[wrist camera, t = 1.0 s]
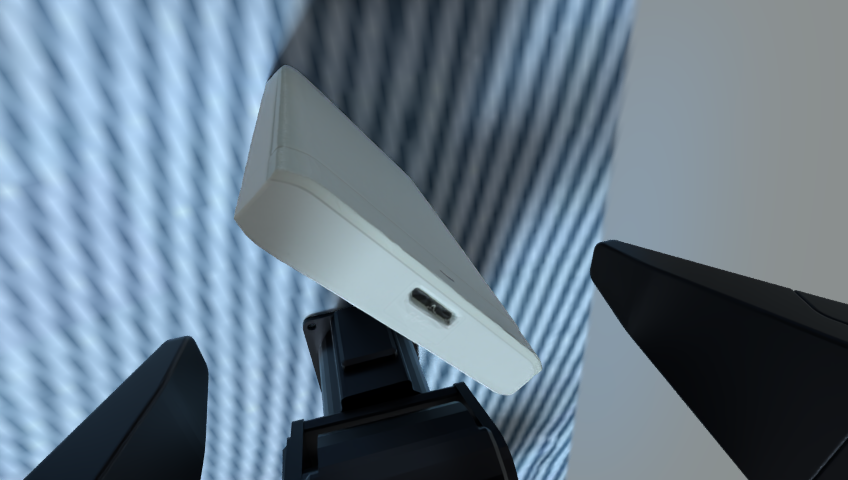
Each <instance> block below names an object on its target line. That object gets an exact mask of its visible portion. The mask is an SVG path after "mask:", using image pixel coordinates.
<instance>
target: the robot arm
mask: <svg viewBox="0 0 848 480" xmlns="http://www.w3.org/2000/svg"><path fill="white" fill-rule="evenodd" d="M590 276H591V279H592V281H593V282H594V284H595V285H596V287H597V288H598V290H599V291H600V293H601V294H602V296H603V297H604V299H605V300H606V302H607V303H608V305H609V306H610V308H611V309H612V311H613V312H614V314H615V315H616V317H617V318H618V320H619V321H620V323H621V324H622V325H623V327H624V328H625V330H626V331H627V332H628V334H629V335H630V336H631V338H632V339H633V340H634V341H635V343H636V344H637V345H638V346H639V347H640V349H641V350H642V351H643V352H644V353H645V355H646V356H647V357H648V358H649V360H650V361H651V362H652V363H653V364H654V366H655V367H656V368H657V369H658V370H659V372H660V373H661V374H662V375H663V377H664V378H665V379H666V380H667V381H668V383H669V384H670V385H671V386H672V387H673V389H674V390H675V391H676V392H677V394H678V395H679V396H680V397H681V398H682V400H683V401H684V402H685V403H686V405H687V406H688V407H689V408H690V409H691V411H692V412H693V413H694V414H695V415H696V417H697V418H698V419H699V420H700V422H701V423H702V424H703V425H704V426H705V428H706V429H707V430H708V431H709V432H710V434H711V435H712V436H713V438H714V439H715V440H716V441H717V442H718V444H719V445H720V446H721V447H722V448H723V450H724V451H725V452H726V453H727V454H728V455H729V457H730V458H731V459H732V461H733V462H734V463H735V464H736V465H737V467H738V468H739V469H740V470H741V472H742V473H743V474H744V475H745V476H746V478H747V479H748V480H848V304H845V303H841V302H837V301H834V300H830V299H826V298H823V297H819V296H815V295H812V294H808V293H804V292H801V291H797V290H795V291H793V290H792V289H790V288H786V287H782V286H779V285H775V284H772V283H768V282H765V281H761V280H757V279H754V278H750V277H746V276H743V275H739V274H736V273H732V272H728V271H725V270H721V269H718V268H714V267H710V266H707V265H703V264H699V263H696V262H693V261H689V260H685V259H682V258H678V257H675V256H671V255H667V254H663V253H660V252H657V251H653V250H649V249H645V248H642V247H638V246H635V245H631V244H628V243H624V242H621V241H617V240H608V241H604V242H600V243H598V244H597V245H596V246H595V248H594V253H593V258H592V263H591V268H590ZM309 324H315V326H313V327H309V326H308V325H309ZM303 331H304V334H305V338H306V341H307V345H308V348H309V351H310V355H311V358H312V362H313V365H314V368H315V372H316V375H317V379H318V382H319V385H320V389H321V392H322V400H323V412H324V416H323V417H319V418H315V419H311V420H306V421H304V419H302V420H298V421H293V422H292V426H291V437H289V438H287V446H286V447H285V448H284V449H283V472H282V480H518V477H517V472H516V469H515V465H514V462H513V459H512V456H511V454H510V451H509V449H508V446H507V444H506V442H505V440H504V438H503V436H502V434H501V433H500V431H499V430H498V428H497V427H496V425H495V424H494V423H493V421H492V420H491V419H490V417H489V416H488V414H487V413H486V412H485V410H484V409H483V408H482V406H481V405H480V403H479V402H478V401H477V399H476V398H475V397H474V395H473V394H472V393H471V391H470V390H469V388H468V387H467V386H466V384H465V383H464V382H460V383H455V384H453V386H451V387H446V388H442V389H438V390H434V391H430V390H429V387H428V384H427V381H426V379H425V376H424V373H423V371H422V368H421V365H420V362H419V360H418V357H417V345H416V343H415V342H413V341H411V340H410V339H408V338H406V337H405V336H403V335H401V334H400V333H398V332H396V331H395V330H393V329H391V328H390V327H388V326H386V325H385V324H383V323H381V322H380V321H378V320H377V319H375V318H374V317H372V316H370V315H369V314H367V313H365V312H364V311H362V310H360V309H359V308H357V307H355V306H353V307H349V308H344V309H340V310H337V311H334V312H330V313H326V314H321V315H317V316H313V317H309V318H307V319H305V320H304V322H303ZM207 399H208V368H207V365H206V362H205V360H204V358H203V356H202V354H201V352H200V350H199V348H198V346H197V344H196V342H195V340H194V339H193V338H192V337H190V336H183V337H179V338H175V339H170V340H167V341H166V342H164V343H163V344H162V345H161V346H160V347H159V348H158V349H157V350H156V351H155V352H154V353H153V354H152V355H151V356H150V357H149V358H148V359H147V360H146V361H145V362H144V363H143V364H142V365H141V366H140V367H139V368H137V369H136V370H135V371H134V372H133V373H132V374H131V375H130V376H129V377H128V378H127V379H126V380H125V381H124V382H123V383H122V384H121V385H120V386H119V387H118V388H117V389H116V390H115V391H114V392H113V393H112V394H111V395H110V396H109V397H108V398H107V399H106V400H105V401H104V402H103V403H102V404H100V405H99V406H98V407H97V408H96V409H95V410H94V411H93V412H92V413H91V414H90V415H89V416H88V417H87V418H86V419H85V420H84V421H83V422H82V423H81V424H80V425H79V426H78V427H77V428H76V429H75V430H74V431H73V432H72V433H71V434H70V435H69V436H68V437H67V438H66V439H65V440H64V441H62V442H61V443H60V444H59V445H58V446H57V447H56V448H55V449H54V450H53V451H52V452H51V453H50V454H49V455H48V456H47V457H46V458H45V459H44V460H43V461H42V462H41V463H40V464H39V465H38V466H37V467H36V468H35V469H34V470H33V471H32V472H31V473H30V474H29V475H28V476H27V477H25V478H24V479H23V480H200V479H201V473H202V467H203V460H204V453H205V442H206V422H207Z"/></svg>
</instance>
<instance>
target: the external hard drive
mask: <svg viewBox="0 0 848 480" xmlns="http://www.w3.org/2000/svg"><path fill="white" fill-rule="evenodd" d="M234 219H235V221H236V223H237V224H238V225H239V227H240V228H241V229H242V231H243V232H244V233H245V234H246V236H247V237H248V238H250V239H251V240H252V241H253V242H254V243H255V244H256V245H258V246H259V247H260V248H262V249H263V250H265V251H266V252H268V253H269V254H271V255H273V256H274V257H276V258H277V259H279V260H280V261H282V262H284V263H285V264H287V265H289V266H290V267H292V268H294V269H295V270H297V271H299V272H300V273H302V274H303V275H305V276H307V277H308V278H310V279H312V280H313V281H315V282H316V283H318V284H320V285H321V286H323V287H325V288H326V289H328V290H329V291H331V292H333V293H334V294H336V295H338V296H339V297H341V298H342V299H344V300H346V301H347V302H349V303H350V304H352V305H354V306H355V307H357V308H359V309H360V310H362V311H364V312H365V313H367V314H369V315H370V316H372V317H374V318H375V319H377V320H378V321H380V322H381V323H383V324H385V325H386V326H388V327H390V328H391V329H393V330H395V331H396V332H398V333H400V334H401V335H403V336H405V337H406V338H408V339H410V340H411V341H413V342H415V343H416V344H418V345H420V346H421V347H423V348H424V349H426V350H428V351H429V352H431V353H433V354H434V355H436V356H437V357H439V358H441V359H442V360H444V361H445V362H447V363H448V364H450V365H452V366H453V367H455V368H456V369H458V370H459V371H461V372H463V373H464V374H466V375H467V376H469V377H471V378H472V379H474V380H475V381H477V382H479V383H480V384H482V385H483V386H485V387H486V388H488V389H490V390H491V391H493V392H495V393H497V394H501V395H512V394H514V393H515V392H516V391H517V390H518V389H520V388H521V387H522V386H523V385H524V384H525V383H527V382H528V381H529V380H530V379H531V378H532V377H533V376H534V375H536V374H538V373H539V372H540V371H541V370H542V365H541V362H540V359H539V358H538V356H537V355H536V353H535V352H534V351H533V349H532V348H531V346H530V345H529V343H528V342H527V341H526V339H525V338H524V336H523V335H522V334H521V332H520V331H519V328H518V326H517V325H516V323H515V322H514V321H513V319H512V318H511V316H510V315H509V314H508V312H507V311H506V309H505V308H504V307H503V305H502V304H501V302H500V301H499V300H498V298H497V297H496V295H495V294H494V293H493V291H492V290H491V289H490V287H489V286H488V284H487V283H486V282H485V280H484V279H483V278H482V276H481V275H480V273H479V272H478V271H477V269H476V268H475V266H474V265H473V264H472V262H471V261H470V259H469V258H468V256H467V255H466V254H465V252H464V251H463V249H462V248H461V247H460V245H459V244H458V243H457V241H456V240H455V238H454V237H453V236H452V234H451V233H450V232H449V230H448V229H447V228H446V226H445V225H444V223H443V222H442V221H441V219H440V218H439V216H438V215H437V214H436V212H435V211H434V210H433V208H432V207H431V205H430V204H429V203H428V201H427V200H426V199H425V197H424V196H423V195H422V193H421V192H420V190H419V189H418V188H417V186H416V185H415V184H414V182H413V181H412V180H411V178H410V177H409V176H408V175H407V174H406V173H405V172H404V171H403V170H402V169H401V168H400V167H399V166H397V165H396V164H395V163H394V162H393V161H392V160H391V159H390V158H389V157H388V156H387V155H386V154H385V153H384V152H383V151H382V150H381V149H380V148H379V147H378V146H377V145H376V144H375V143H374V142H372V141H371V140H370V139H369V138H368V137H367V136H366V135H365V134H364V133H363V132H362V131H361V130H360V129H359V128H358V127H357V126H356V125H355V124H354V123H353V122H352V121H351V120H350V119H349V118H348V117H347V116H346V115H345V114H344V113H343V112H342V111H340V110H339V109H338V108H337V107H336V106H335V105H334V104H333V103H332V102H331V101H330V100H329V99H328V98H327V97H326V96H325V95H324V94H323V93H322V92H321V91H320V90H319V89H317V88H316V87H315V86H314V85H313V84H312V83H311V82H310V81H309V80H308V79H307V78H306V77H305V76H303V75H302V74H301V73H300V72H299V71H298V70H296V69H295V68H293V67H291V66H289V65H283V66H282V67H281V68H280V69H279V70H278V71H277V72H276V73H275V74H274V75H273V76H272V77H271V79H270V80H269V81H268V82H267V83H266V86H265V90H264V94H263V97H262V100H261V105H260V109H259V113H258V117H257V121H256V125H255V130H254V133H253V137H252V142H251V145H250V150H249V154H248V160H247V164H246V167H245V172H244V177H243V181H242V187H241V190H240V194H239V197H238V202H237V206H236V209H235V216H234Z"/></svg>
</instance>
